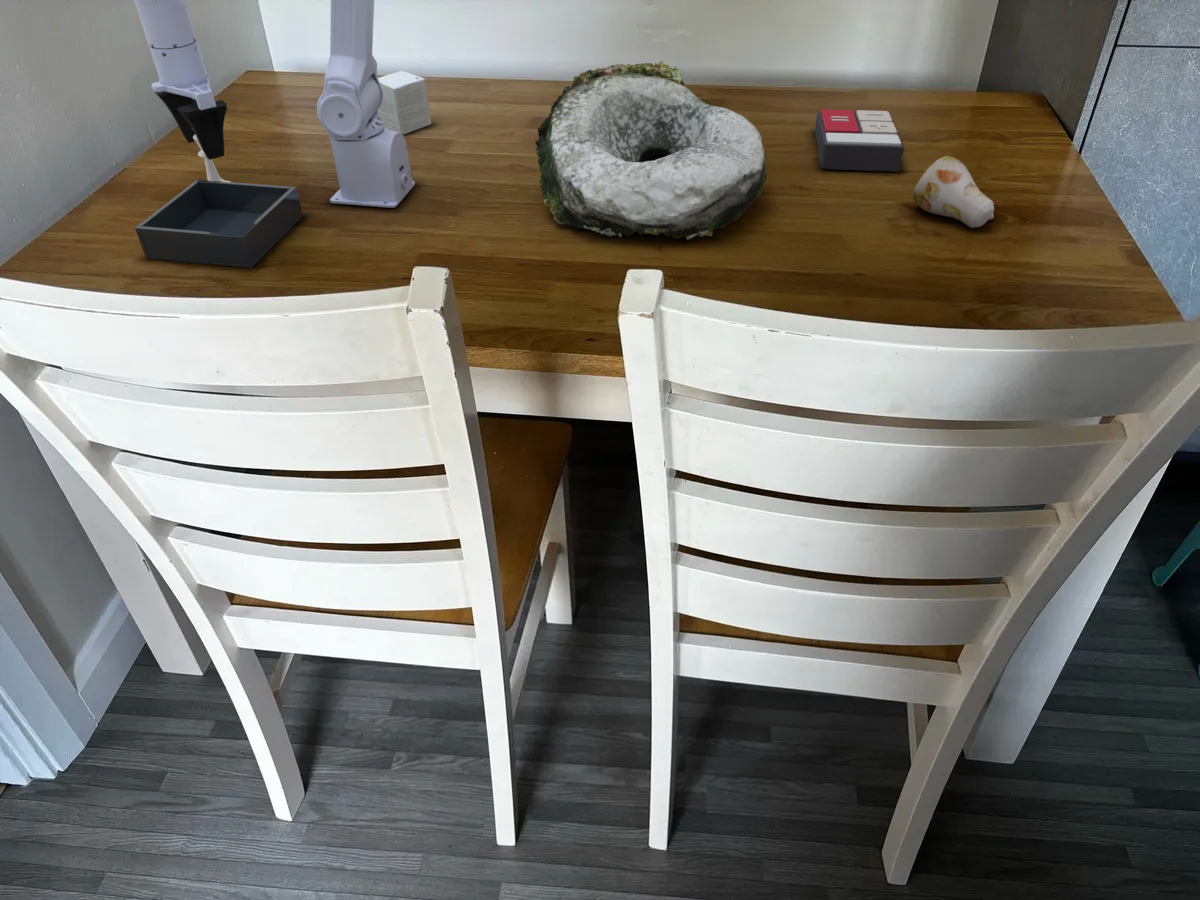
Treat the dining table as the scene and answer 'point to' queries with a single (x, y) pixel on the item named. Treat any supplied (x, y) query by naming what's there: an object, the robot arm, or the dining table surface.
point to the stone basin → (646, 155)
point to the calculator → (858, 140)
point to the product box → (404, 102)
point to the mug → (953, 193)
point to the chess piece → (209, 165)
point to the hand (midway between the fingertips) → (205, 148)
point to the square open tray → (220, 223)
